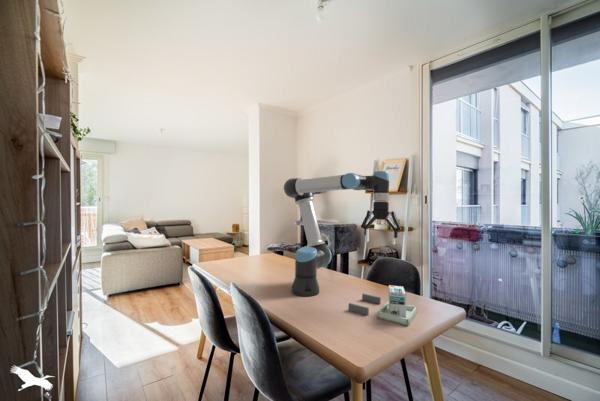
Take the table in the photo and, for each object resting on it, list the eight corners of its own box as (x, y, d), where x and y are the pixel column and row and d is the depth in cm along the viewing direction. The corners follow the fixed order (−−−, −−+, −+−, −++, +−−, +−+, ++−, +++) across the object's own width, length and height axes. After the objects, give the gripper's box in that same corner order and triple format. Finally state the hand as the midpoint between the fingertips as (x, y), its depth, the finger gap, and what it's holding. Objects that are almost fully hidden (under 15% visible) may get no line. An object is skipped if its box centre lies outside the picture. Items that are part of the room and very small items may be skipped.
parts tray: (377, 317, 115) (377, 311, 115) (389, 305, 128) (389, 300, 128) (408, 326, 107) (408, 319, 108) (417, 312, 121) (417, 306, 121)
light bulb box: (406, 319, 112) (406, 293, 112) (389, 317, 114) (389, 292, 114) (403, 309, 122) (403, 286, 122) (387, 307, 124) (388, 284, 124)
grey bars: (348, 310, 122) (348, 303, 122) (363, 299, 136) (363, 293, 136) (367, 315, 117) (367, 308, 117) (380, 303, 131) (380, 297, 131)
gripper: (355, 201, 141) (354, 241, 141) (404, 201, 127) (403, 246, 127) (360, 201, 147) (360, 239, 147) (408, 201, 133) (407, 244, 133)
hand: (380, 243), depth 137 cm, fingers open, 13 cm apart
